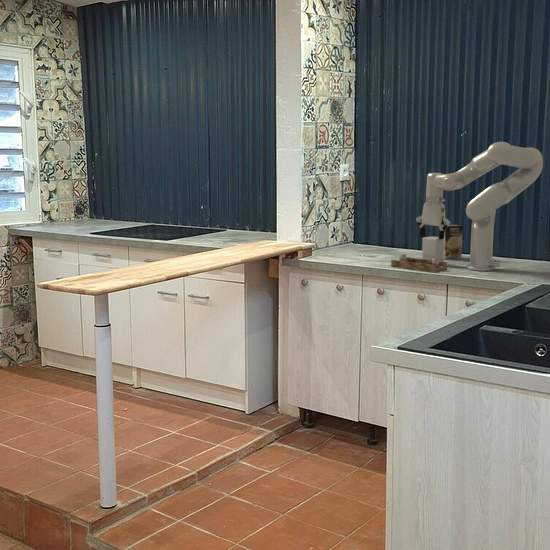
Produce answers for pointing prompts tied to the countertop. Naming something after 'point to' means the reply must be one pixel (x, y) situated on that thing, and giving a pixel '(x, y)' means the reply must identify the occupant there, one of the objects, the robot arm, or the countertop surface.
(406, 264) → the brown textured block
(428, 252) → the supplement box
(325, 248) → the countertop surface
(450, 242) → the coffee box
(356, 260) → the countertop surface
